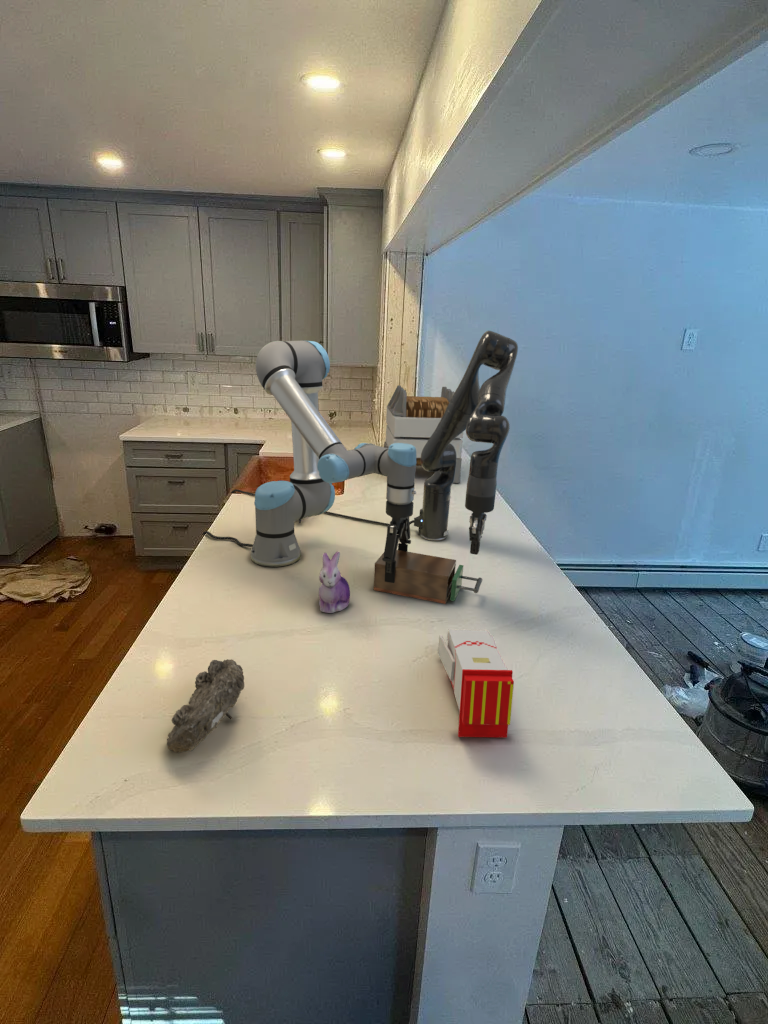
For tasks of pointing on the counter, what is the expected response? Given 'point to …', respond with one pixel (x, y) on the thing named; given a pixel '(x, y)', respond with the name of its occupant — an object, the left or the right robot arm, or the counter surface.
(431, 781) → the counter surface
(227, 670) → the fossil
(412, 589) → the cabinet
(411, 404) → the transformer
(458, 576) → the drawer
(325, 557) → the figurine
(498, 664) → the toy
